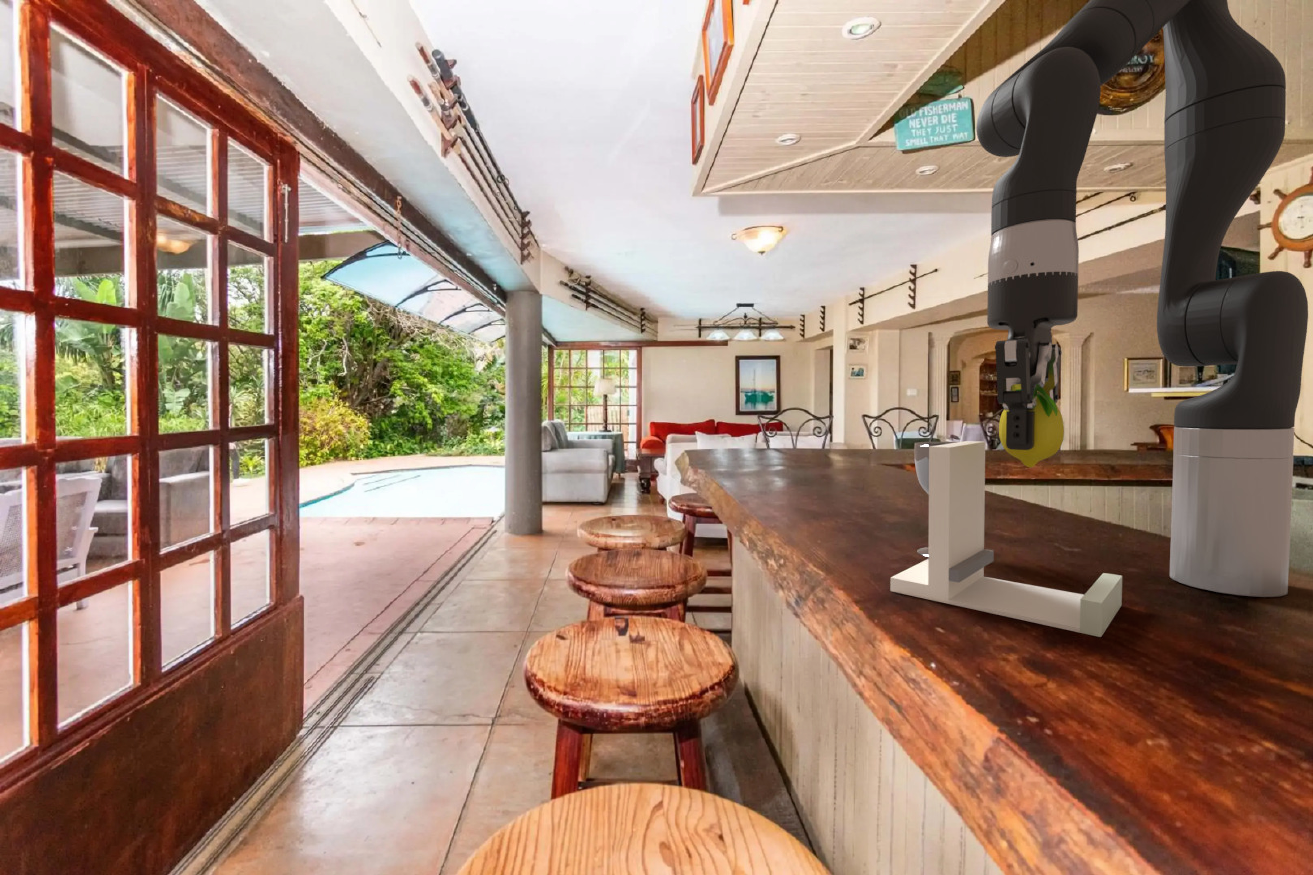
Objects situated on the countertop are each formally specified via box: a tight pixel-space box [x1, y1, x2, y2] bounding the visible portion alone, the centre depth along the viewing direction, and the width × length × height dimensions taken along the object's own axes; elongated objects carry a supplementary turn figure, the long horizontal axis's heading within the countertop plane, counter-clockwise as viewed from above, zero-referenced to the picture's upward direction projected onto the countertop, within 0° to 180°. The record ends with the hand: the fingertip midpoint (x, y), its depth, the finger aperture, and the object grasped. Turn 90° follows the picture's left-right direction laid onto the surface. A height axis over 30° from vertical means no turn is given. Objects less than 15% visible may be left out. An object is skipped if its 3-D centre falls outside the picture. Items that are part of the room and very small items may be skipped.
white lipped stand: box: [889, 440, 1123, 638], centre depth 60 cm, size 11×18×16 cm, turn 44°
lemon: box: [998, 388, 1065, 468], centre depth 58 cm, size 7×6×10 cm
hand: (1028, 446), depth 58 cm, fingers closed on lemon, 5 cm apart
